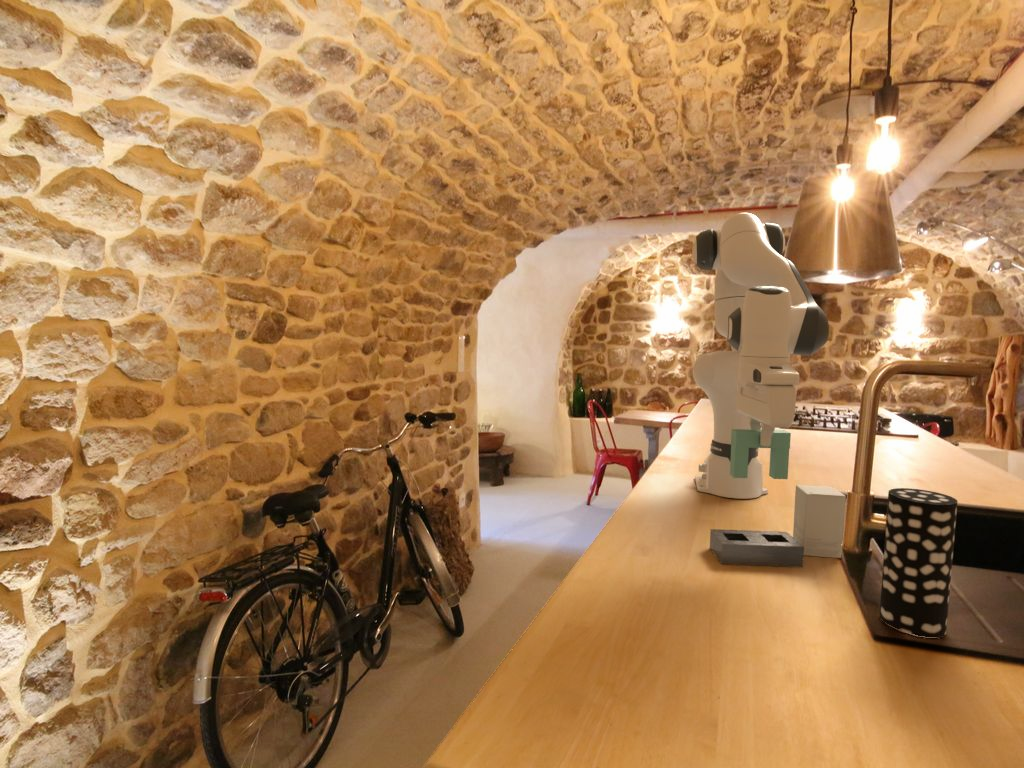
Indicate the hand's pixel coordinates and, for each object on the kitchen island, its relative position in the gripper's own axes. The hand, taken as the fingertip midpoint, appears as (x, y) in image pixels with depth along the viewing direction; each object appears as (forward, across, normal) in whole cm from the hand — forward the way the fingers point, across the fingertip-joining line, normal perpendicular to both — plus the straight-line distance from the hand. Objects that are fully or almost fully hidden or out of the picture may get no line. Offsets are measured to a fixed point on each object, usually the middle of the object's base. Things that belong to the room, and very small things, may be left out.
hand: (760, 443), depth 108 cm
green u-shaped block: (+7, 0, 0) cm, 7 cm away
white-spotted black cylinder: (+23, +24, +15) cm, 36 cm away
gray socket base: (+23, 0, 0) cm, 23 cm away
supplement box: (+23, -5, +14) cm, 27 cm away
